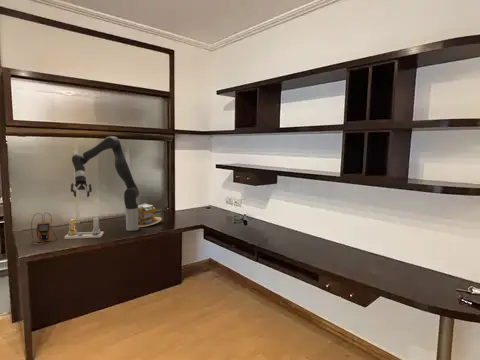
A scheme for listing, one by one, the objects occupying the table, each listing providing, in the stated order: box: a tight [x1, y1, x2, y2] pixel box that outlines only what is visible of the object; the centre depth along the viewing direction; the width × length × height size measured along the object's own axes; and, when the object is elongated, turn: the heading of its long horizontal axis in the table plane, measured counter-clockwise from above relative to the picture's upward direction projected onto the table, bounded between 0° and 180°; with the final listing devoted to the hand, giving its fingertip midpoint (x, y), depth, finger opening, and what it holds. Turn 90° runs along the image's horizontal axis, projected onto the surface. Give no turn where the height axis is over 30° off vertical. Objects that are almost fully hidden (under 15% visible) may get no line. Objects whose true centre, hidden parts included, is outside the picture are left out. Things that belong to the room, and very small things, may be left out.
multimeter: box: [30, 212, 58, 246], centre depth 220 cm, size 15×10×20 cm
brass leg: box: [67, 218, 78, 236], centre depth 234 cm, size 4×6×11 cm
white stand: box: [64, 217, 105, 240], centre depth 237 cm, size 24×10×13 cm, turn 102°
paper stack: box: [138, 203, 162, 228], centre depth 274 cm, size 25×25×17 cm
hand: (81, 196), depth 243 cm, fingers open, 8 cm apart
